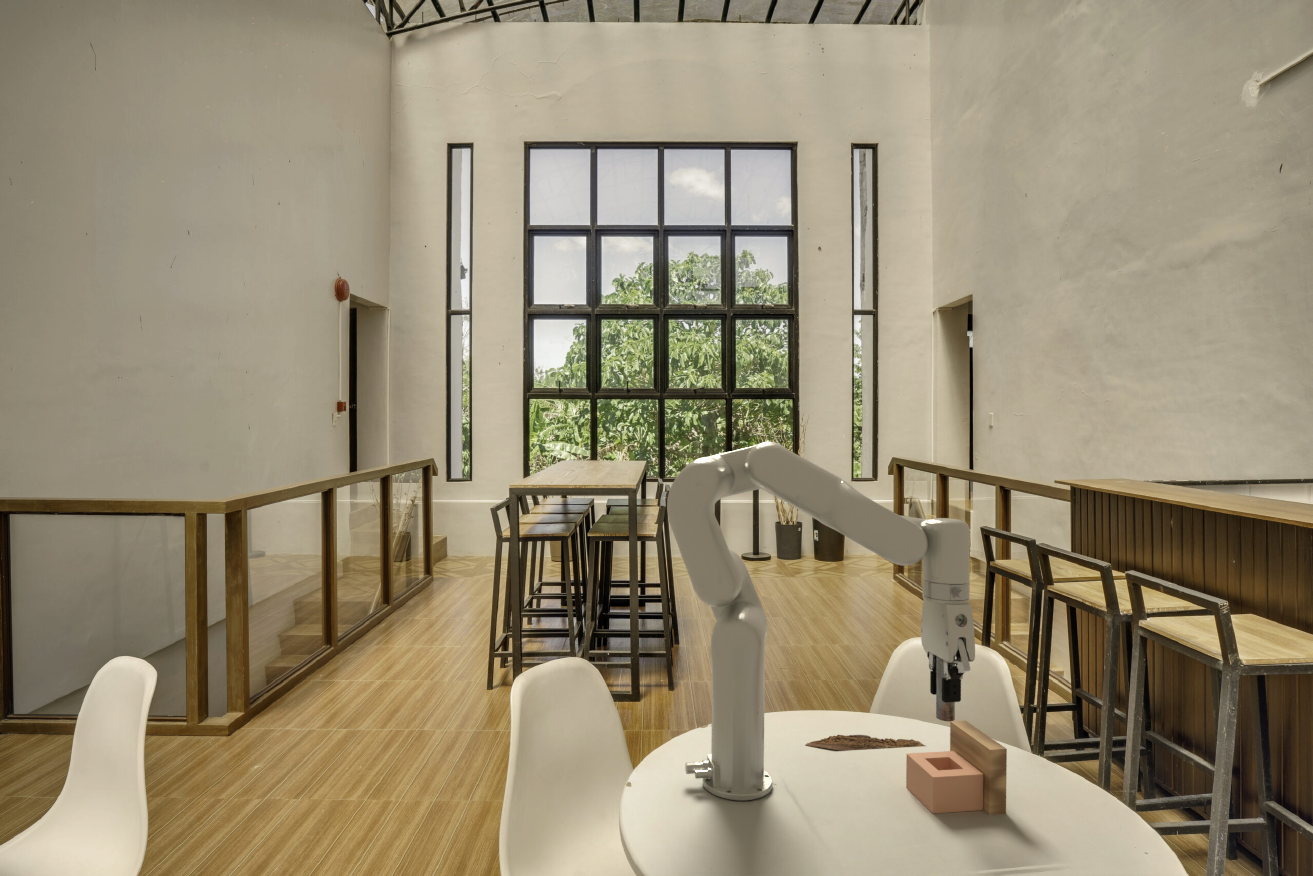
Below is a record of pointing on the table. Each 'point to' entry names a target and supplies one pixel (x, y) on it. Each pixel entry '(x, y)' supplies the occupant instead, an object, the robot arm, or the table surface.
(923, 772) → the block
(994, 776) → the block
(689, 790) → the table surface
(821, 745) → the wooden fragment
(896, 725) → the table surface
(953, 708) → the dowel
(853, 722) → the table surface
